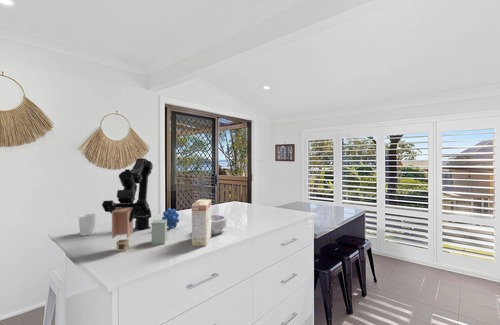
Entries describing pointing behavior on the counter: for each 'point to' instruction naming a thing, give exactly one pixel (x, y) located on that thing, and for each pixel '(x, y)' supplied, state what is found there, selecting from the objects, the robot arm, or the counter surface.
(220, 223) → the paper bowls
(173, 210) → the grapes
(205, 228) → the coffeecake box
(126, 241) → the maple cube
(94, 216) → the white cup
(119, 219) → the terracotta cover
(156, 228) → the sage canister
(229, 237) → the counter surface
